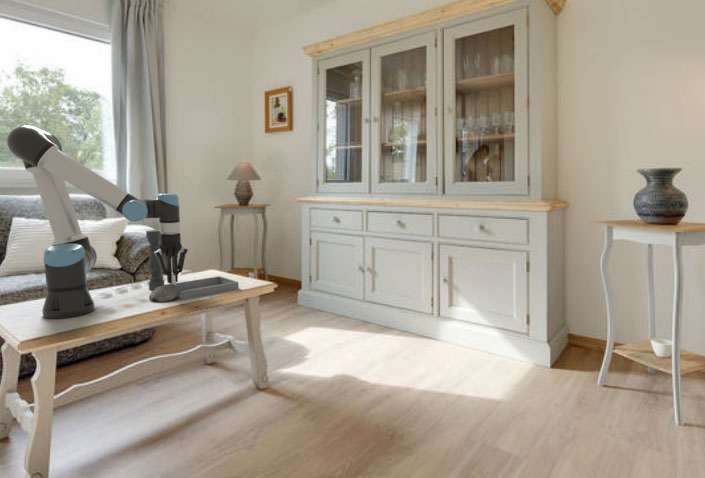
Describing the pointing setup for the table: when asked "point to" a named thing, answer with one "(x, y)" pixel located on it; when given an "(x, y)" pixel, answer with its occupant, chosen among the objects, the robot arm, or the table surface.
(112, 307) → the table surface
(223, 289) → the tray
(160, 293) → the fossilized seashell
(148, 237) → the candle holder
